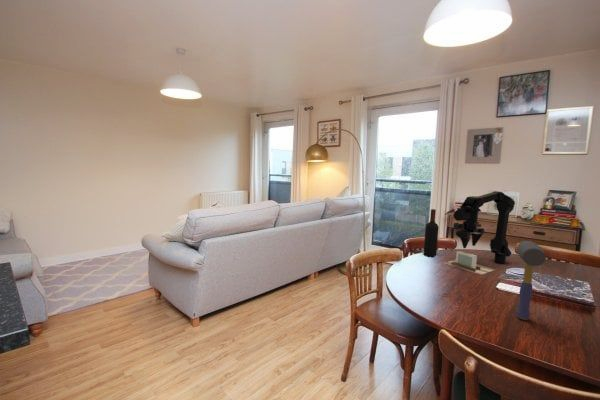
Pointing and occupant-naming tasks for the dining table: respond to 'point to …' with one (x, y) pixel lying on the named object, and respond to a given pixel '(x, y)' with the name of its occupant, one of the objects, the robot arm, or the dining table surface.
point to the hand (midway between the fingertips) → (469, 247)
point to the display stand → (478, 269)
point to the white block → (466, 259)
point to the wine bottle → (431, 236)
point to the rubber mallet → (528, 274)
